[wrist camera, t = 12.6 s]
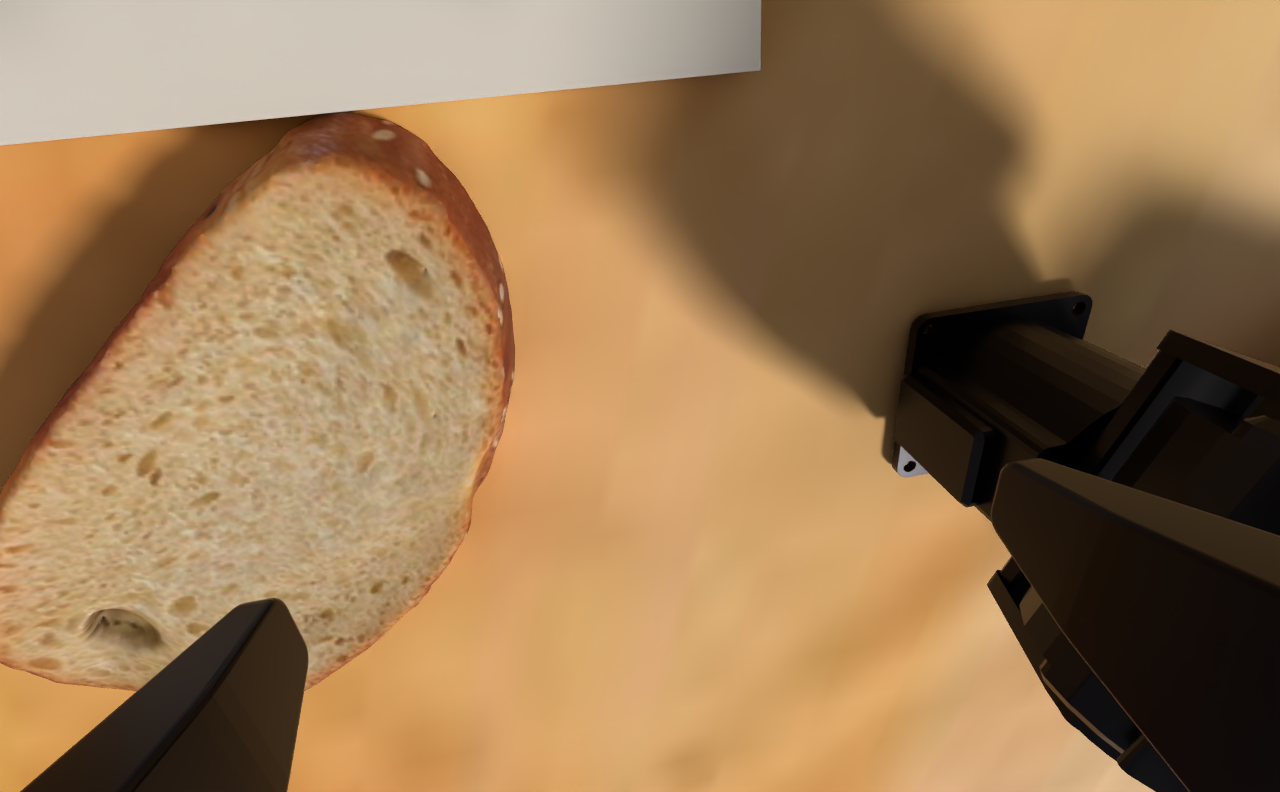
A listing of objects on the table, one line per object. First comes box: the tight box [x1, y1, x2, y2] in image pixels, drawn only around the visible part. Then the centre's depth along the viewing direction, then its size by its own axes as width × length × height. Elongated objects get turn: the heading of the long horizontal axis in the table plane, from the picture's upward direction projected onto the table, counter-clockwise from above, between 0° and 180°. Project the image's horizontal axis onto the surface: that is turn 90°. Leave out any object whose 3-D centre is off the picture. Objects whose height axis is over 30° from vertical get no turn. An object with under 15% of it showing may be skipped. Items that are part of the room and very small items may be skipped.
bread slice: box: [0, 111, 515, 691], centre depth 18 cm, size 18×18×4 cm
